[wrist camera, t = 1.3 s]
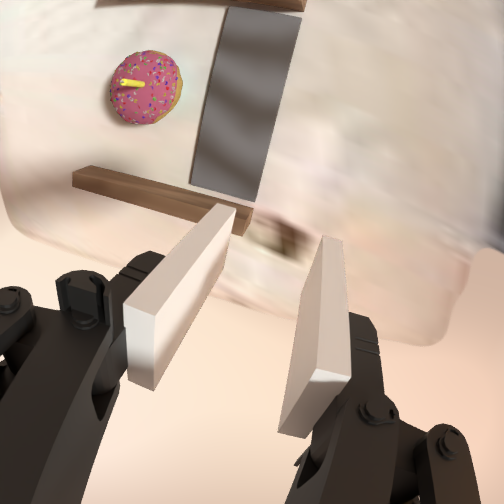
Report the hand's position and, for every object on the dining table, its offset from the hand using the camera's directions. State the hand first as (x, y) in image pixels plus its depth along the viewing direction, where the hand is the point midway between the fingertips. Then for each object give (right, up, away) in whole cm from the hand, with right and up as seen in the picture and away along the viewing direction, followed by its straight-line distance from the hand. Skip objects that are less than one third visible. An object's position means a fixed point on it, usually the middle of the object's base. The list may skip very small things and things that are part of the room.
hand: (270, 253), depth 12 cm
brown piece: (-9, +19, +21) cm, 30 cm away
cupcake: (-11, +20, +21) cm, 31 cm away
